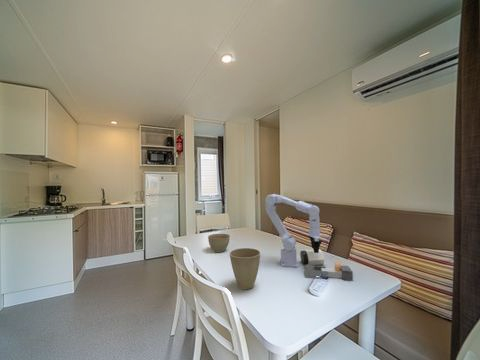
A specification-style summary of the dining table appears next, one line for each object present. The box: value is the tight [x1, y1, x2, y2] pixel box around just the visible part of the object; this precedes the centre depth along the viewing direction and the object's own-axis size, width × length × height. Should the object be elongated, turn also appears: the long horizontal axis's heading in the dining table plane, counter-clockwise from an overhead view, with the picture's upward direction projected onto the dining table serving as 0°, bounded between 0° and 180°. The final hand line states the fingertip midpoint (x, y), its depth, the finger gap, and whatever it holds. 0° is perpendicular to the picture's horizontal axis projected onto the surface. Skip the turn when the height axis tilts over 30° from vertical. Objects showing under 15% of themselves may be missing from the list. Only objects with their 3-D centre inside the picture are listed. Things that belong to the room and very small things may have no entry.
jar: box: [299, 248, 325, 266], centre depth 125 cm, size 9×8×12 cm
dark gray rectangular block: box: [341, 265, 354, 282], centre depth 106 cm, size 4×7×4 cm, turn 168°
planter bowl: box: [207, 233, 231, 253], centre depth 154 cm, size 16×16×11 cm
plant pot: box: [229, 247, 261, 290], centre depth 100 cm, size 15×15×16 cm
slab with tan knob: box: [321, 261, 342, 279], centre depth 107 cm, size 13×4×7 cm, turn 78°
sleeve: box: [303, 264, 328, 279], centre depth 109 cm, size 11×7×4 cm, turn 78°
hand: (315, 250), depth 119 cm, fingers open, 7 cm apart
